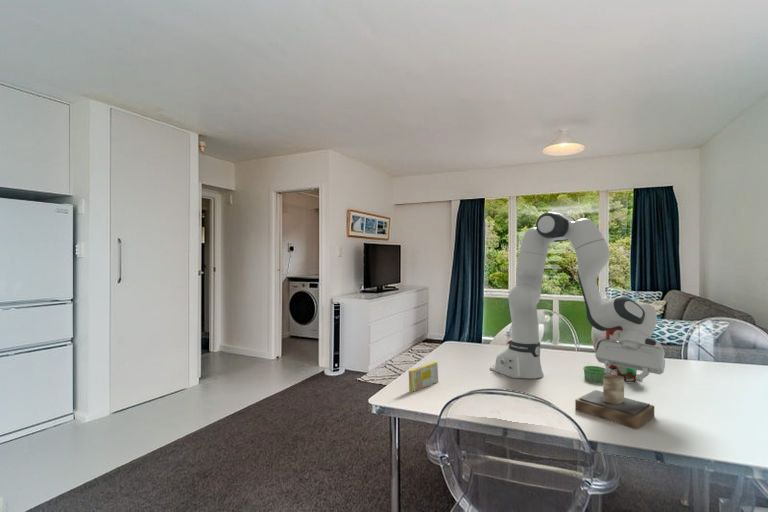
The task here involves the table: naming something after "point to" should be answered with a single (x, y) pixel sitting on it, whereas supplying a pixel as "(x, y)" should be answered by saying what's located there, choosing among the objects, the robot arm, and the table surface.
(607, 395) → the tan cylinder
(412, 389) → the candy box
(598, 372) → the ramekin
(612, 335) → the liquor
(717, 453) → the table surface
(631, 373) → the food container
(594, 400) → the brown flat block
